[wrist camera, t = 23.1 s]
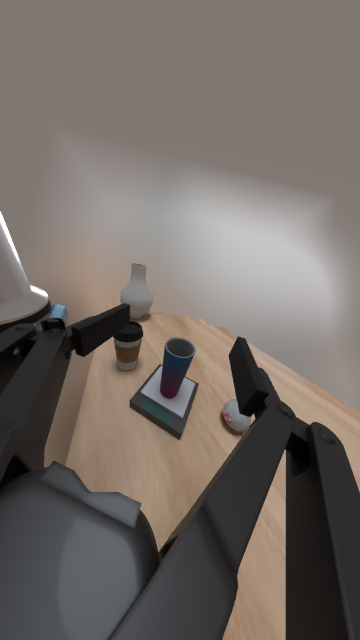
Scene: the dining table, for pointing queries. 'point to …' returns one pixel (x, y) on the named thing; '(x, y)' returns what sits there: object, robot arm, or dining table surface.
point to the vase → (137, 292)
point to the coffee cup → (128, 345)
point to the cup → (175, 365)
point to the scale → (164, 403)
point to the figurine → (235, 416)
